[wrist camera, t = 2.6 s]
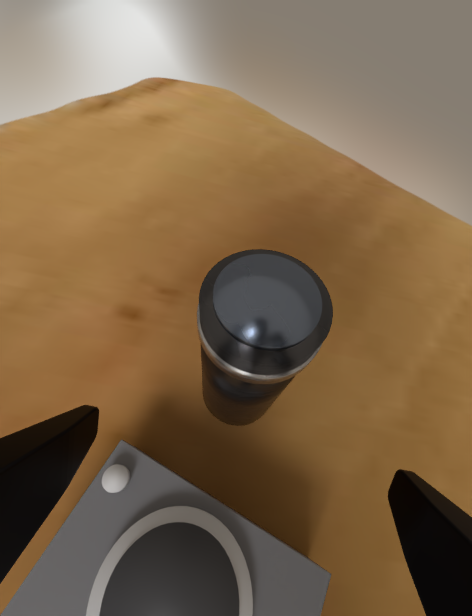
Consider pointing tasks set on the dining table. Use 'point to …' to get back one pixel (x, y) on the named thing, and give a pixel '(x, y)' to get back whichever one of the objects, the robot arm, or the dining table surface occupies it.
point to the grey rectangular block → (164, 554)
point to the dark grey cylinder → (258, 330)
